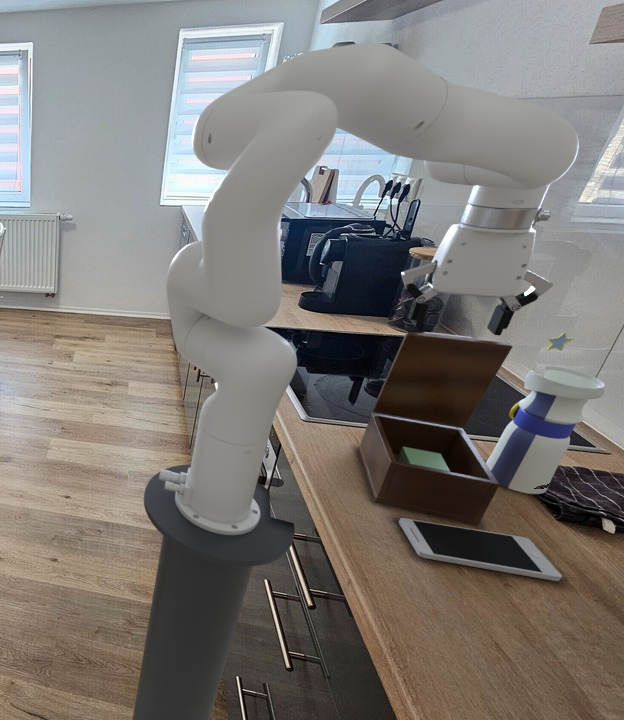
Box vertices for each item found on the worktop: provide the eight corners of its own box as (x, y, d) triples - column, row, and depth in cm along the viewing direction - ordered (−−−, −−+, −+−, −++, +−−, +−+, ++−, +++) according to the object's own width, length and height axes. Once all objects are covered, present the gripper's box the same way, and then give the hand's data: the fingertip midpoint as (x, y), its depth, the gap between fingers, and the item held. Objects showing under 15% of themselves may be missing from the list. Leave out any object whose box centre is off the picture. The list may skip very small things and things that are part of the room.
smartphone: (560, 582, 65) (564, 577, 64) (419, 557, 69) (421, 552, 68) (525, 542, 71) (528, 537, 70) (397, 521, 75) (399, 516, 75)
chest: (478, 525, 74) (499, 484, 71) (375, 502, 79) (391, 462, 76) (445, 465, 86) (463, 428, 83) (358, 448, 92) (371, 412, 88)
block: (438, 496, 79) (450, 471, 76) (399, 488, 81) (410, 463, 78) (429, 478, 83) (440, 453, 80) (392, 470, 85) (402, 446, 82)
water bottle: (465, 467, 86) (528, 335, 75) (502, 459, 87) (570, 328, 77) (521, 499, 79) (600, 357, 68) (561, 489, 80) (645, 349, 69)
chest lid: (513, 346, 73) (503, 330, 77) (407, 334, 78) (402, 319, 82) (464, 427, 83) (457, 410, 86) (372, 412, 88) (369, 396, 91)
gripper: (567, 215, 71) (516, 326, 78) (415, 211, 78) (381, 313, 85) (596, 225, 65) (537, 345, 72) (428, 220, 72) (391, 329, 79)
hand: (453, 328), depth 79 cm, fingers open, 9 cm apart
